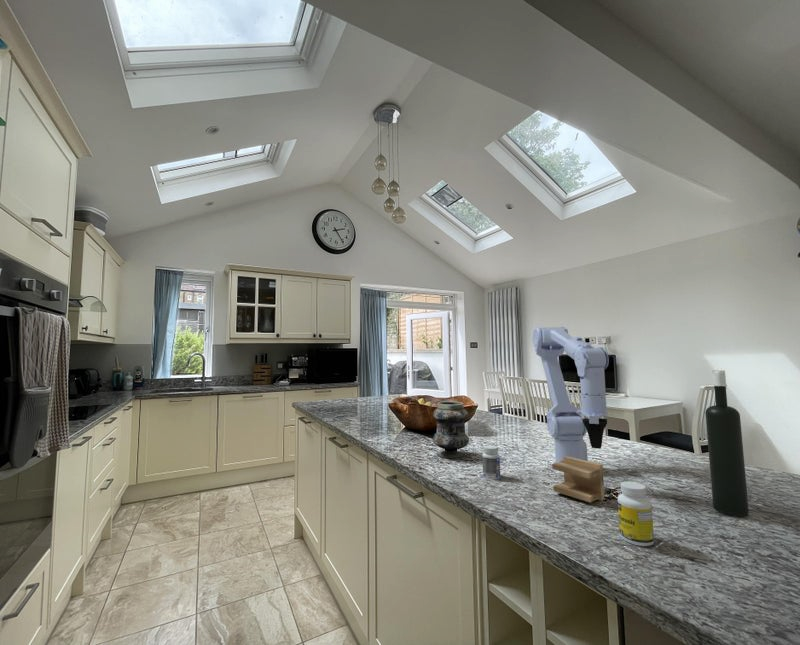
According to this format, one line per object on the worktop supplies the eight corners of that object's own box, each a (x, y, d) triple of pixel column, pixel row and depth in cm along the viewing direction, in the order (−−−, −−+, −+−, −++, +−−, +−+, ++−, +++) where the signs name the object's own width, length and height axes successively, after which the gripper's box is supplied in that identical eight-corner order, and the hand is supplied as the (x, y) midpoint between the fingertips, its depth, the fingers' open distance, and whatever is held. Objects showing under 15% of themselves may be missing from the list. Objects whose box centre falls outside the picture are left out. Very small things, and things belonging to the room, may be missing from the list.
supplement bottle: (613, 533, 71) (609, 480, 72) (639, 531, 71) (636, 479, 72) (633, 548, 65) (629, 490, 66) (662, 546, 66) (658, 489, 67)
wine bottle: (752, 518, 76) (738, 371, 78) (715, 512, 79) (704, 370, 81) (745, 508, 81) (732, 369, 83) (711, 503, 84) (699, 369, 86)
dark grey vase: (472, 461, 118) (470, 404, 120) (434, 462, 118) (433, 405, 120) (466, 451, 130) (464, 399, 132) (432, 452, 131) (430, 400, 132)
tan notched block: (553, 494, 90) (568, 488, 94) (590, 506, 83) (604, 499, 87) (552, 460, 91) (566, 456, 95) (588, 469, 84) (602, 464, 88)
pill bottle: (501, 480, 100) (499, 449, 101) (483, 480, 101) (482, 448, 102) (499, 475, 105) (498, 444, 106) (482, 474, 106) (481, 444, 107)
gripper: (577, 390, 104) (580, 440, 103) (574, 396, 92) (577, 452, 91) (606, 391, 101) (609, 442, 100) (606, 397, 88) (610, 456, 87)
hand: (596, 447), depth 95 cm, fingers closed
